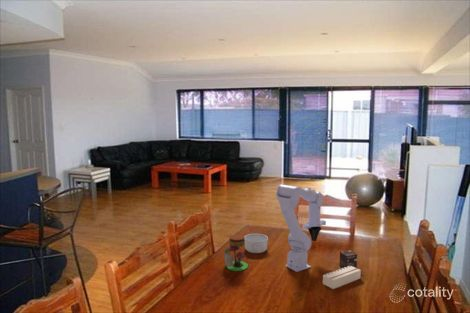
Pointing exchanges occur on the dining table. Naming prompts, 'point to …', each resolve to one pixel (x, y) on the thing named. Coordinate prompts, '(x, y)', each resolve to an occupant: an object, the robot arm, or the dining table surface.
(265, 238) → the ramekin
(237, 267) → the plant terrarium
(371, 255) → the dining table surface
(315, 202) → the robot arm
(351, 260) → the box
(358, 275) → the striped peg rail
